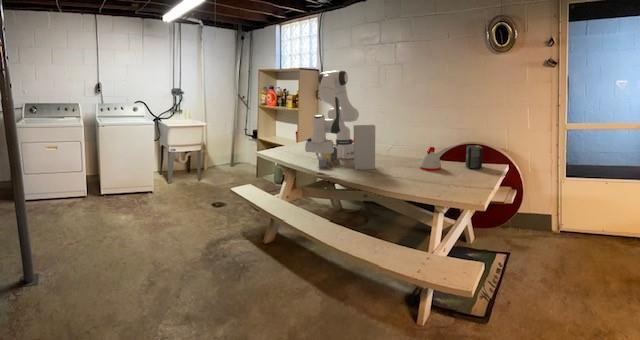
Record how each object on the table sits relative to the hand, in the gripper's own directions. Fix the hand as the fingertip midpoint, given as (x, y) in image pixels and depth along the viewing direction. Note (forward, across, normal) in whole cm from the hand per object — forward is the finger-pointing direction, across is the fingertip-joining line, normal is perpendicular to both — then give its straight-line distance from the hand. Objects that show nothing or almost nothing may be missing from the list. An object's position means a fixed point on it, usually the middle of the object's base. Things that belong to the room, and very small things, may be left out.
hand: (319, 159), depth 285 cm
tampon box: (+7, -96, -43) cm, 106 cm away
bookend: (+7, 0, -6) cm, 9 cm away
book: (+7, +2, -14) cm, 16 cm away
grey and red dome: (+8, -69, -31) cm, 76 cm away
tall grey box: (+8, -27, -16) cm, 32 cm away
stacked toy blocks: (+8, +1, -14) cm, 16 cm away
